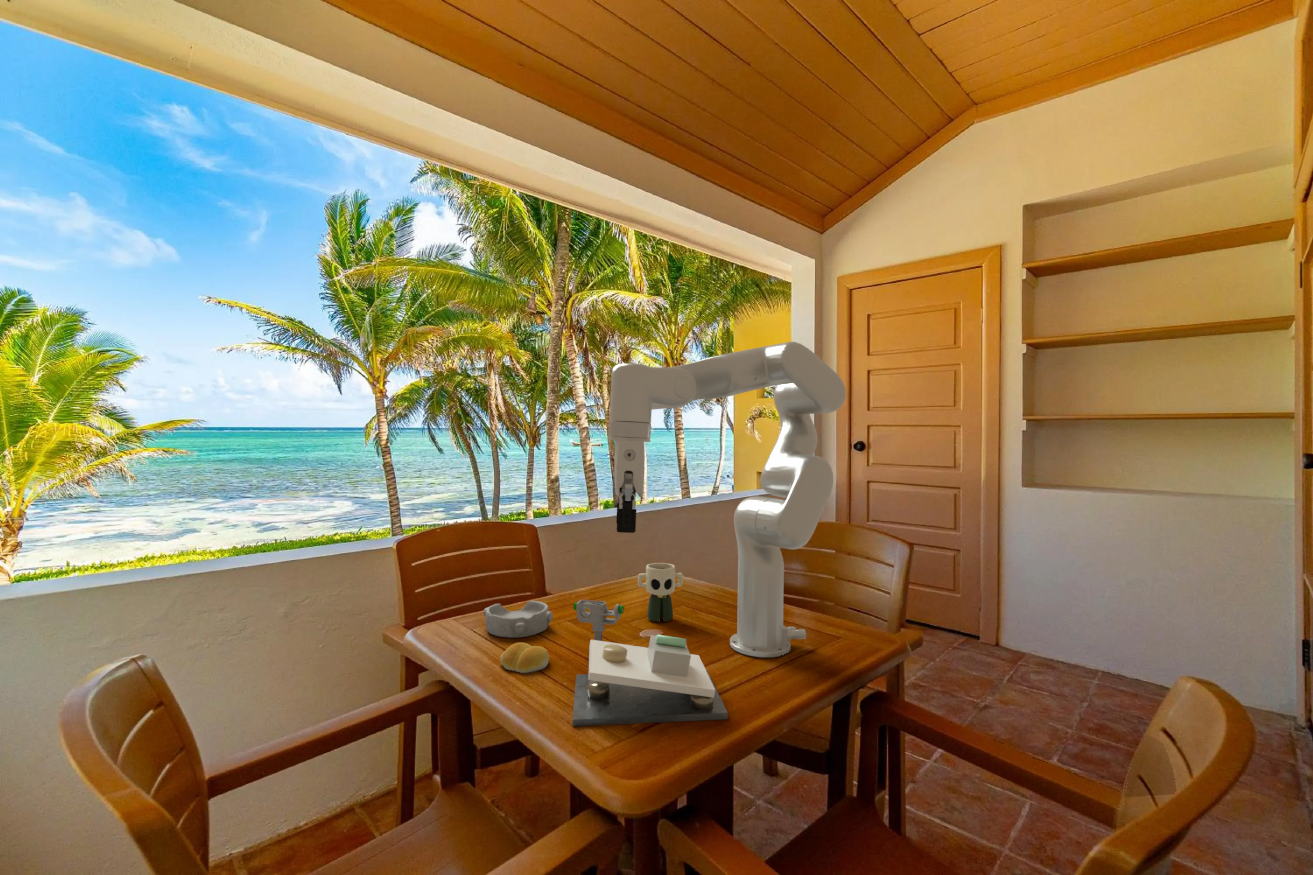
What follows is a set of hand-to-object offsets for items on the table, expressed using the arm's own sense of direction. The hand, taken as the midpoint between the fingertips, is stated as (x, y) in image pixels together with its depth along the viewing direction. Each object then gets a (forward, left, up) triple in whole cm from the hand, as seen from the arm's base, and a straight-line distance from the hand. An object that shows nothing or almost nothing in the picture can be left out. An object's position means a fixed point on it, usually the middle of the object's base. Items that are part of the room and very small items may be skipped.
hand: (625, 528), depth 99 cm
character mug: (-11, -33, -28) cm, 45 cm away
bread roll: (+19, -9, -28) cm, 35 cm away
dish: (+22, -29, -28) cm, 46 cm away
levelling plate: (-4, +7, -23) cm, 24 cm away
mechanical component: (+4, -14, -28) cm, 32 cm away
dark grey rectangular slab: (-4, +7, -28) cm, 29 cm away
